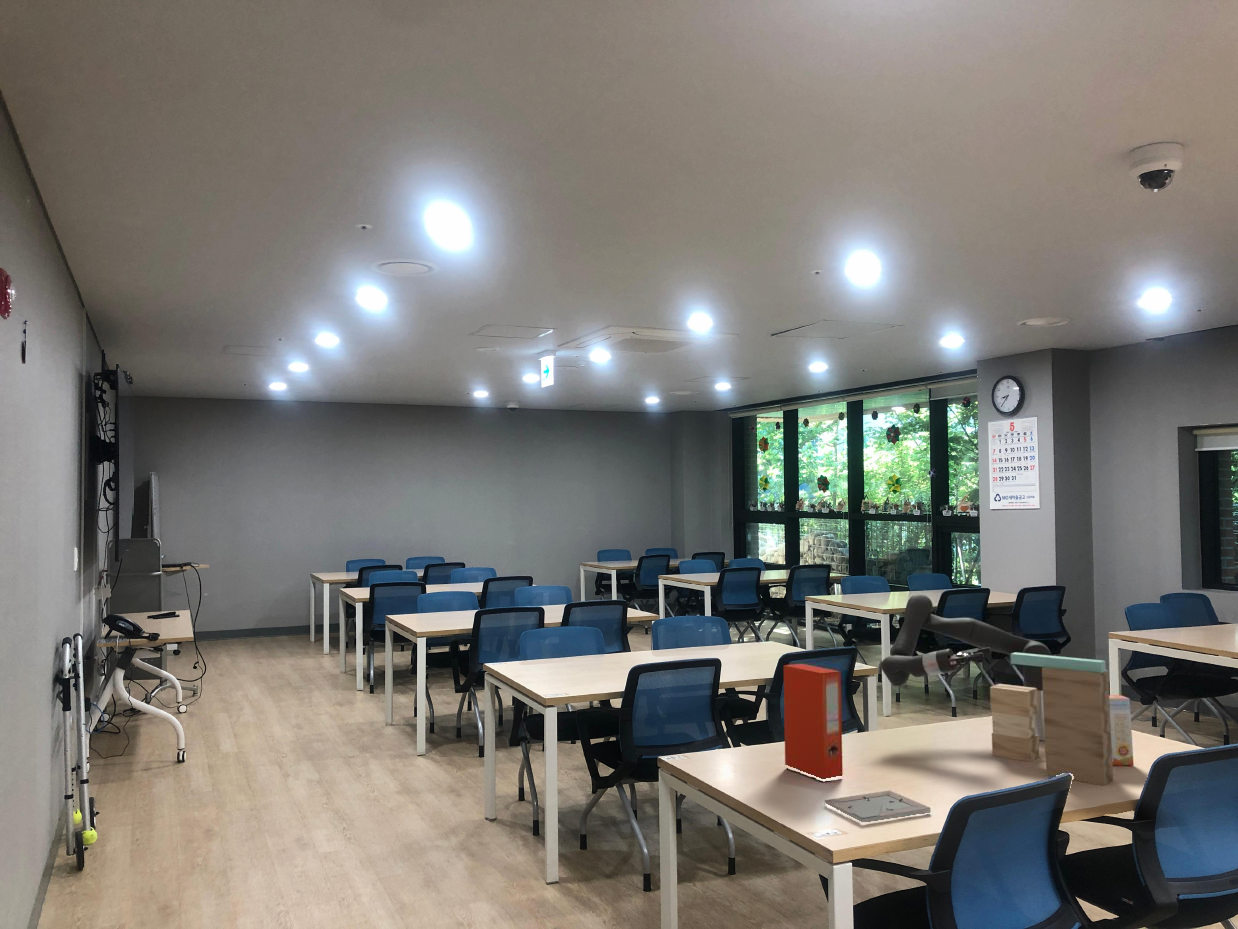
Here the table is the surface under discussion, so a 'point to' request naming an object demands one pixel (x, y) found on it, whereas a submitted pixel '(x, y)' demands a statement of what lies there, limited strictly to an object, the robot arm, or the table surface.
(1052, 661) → the batten
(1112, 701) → the cracker box
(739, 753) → the table surface
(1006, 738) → the block
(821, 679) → the file binder
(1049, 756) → the wooden moulding block
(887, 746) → the table surface
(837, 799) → the picture frame
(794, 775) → the table surface
